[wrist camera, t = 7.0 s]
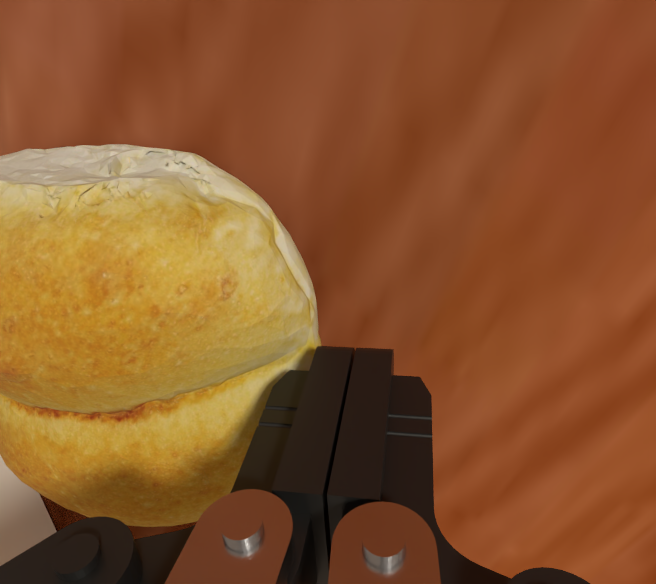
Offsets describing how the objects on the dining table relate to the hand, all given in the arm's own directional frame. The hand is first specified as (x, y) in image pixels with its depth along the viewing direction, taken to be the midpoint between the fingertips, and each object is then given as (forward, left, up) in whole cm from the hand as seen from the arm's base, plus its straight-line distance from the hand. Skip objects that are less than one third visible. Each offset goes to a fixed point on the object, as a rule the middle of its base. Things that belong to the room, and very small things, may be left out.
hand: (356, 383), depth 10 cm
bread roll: (0, -5, -2) cm, 5 cm away
